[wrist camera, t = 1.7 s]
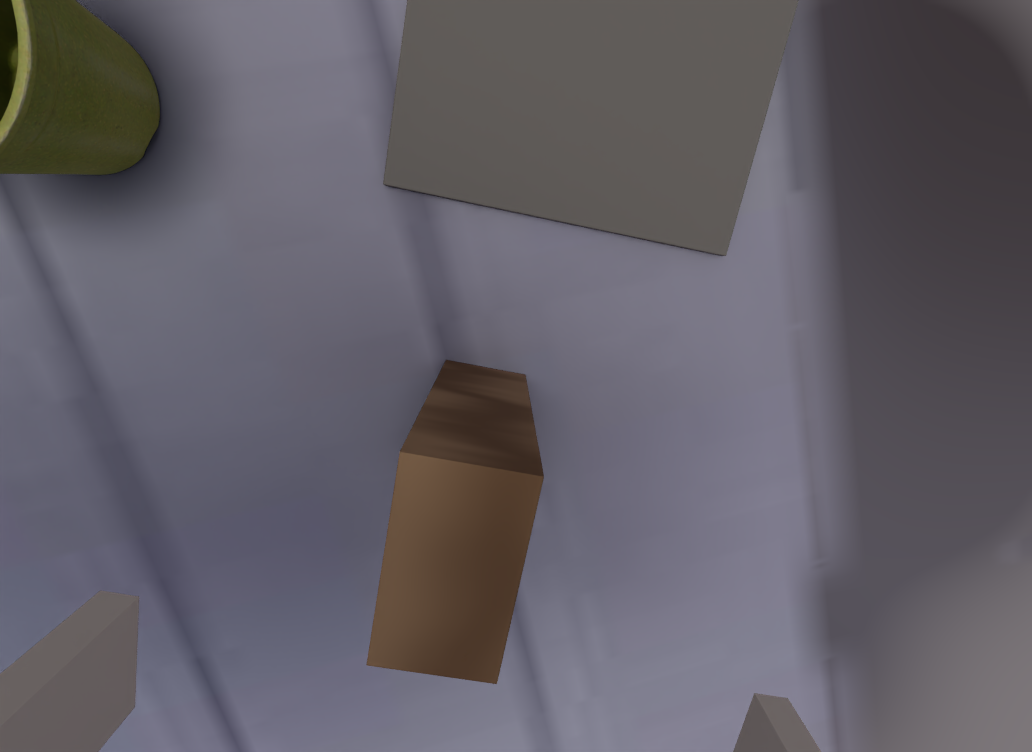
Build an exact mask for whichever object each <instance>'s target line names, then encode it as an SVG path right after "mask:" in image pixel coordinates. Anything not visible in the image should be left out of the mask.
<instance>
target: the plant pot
mask: <svg viewBox="0 0 1032 752" xmlns="http://www.w3.org/2000/svg"><path fill="white" fill-rule="evenodd" d="M159 117H160V107H159V98H158V93H157V88H156V86H155V83H154V80H153V78H152V75H151V73H150V72H149V70H148V68H147V66H146V64H145V63H144V61H143V59H142V58H141V57H140V55H139V54H138V53H137V52H136V51H135V50H134V48H133V47H132V46H131V45H130V44H129V43H128V42H126V41H125V40H124V39H123V38H122V37H121V36H120V35H119V34H117V33H116V32H115V31H113V30H112V29H111V28H110V27H108V26H107V25H106V24H105V23H103V22H102V21H101V20H100V19H98V18H97V17H96V16H94V15H93V14H92V13H91V12H89V11H88V10H87V9H86V8H84V7H83V6H82V5H81V4H79V3H78V2H77V1H76V0H0V174H87V175H106V174H113V173H117V172H120V171H123V170H125V169H127V168H129V167H131V166H133V165H134V164H135V163H137V162H138V161H139V160H140V159H141V158H142V157H143V156H144V153H145V150H146V148H147V146H148V144H149V142H150V140H151V138H152V136H153V134H154V133H155V131H156V130H157V128H158V125H159Z"/></svg>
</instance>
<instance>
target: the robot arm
mask: <svg viewBox="0 0 1032 752" xmlns="http://www.w3.org/2000/svg"><path fill="white" fill-rule="evenodd" d="M138 613H139V597H138V596H132V595H125V594H119V593H113V592H106V591H99V592H98V593H97V594H96V595H95V596H93V597H92V598H91V599H90V600H88V601H87V602H86V603H85V604H84V605H82V606H81V607H80V608H79V609H78V610H76V611H75V612H74V613H73V614H72V615H70V616H69V617H68V618H67V619H66V620H64V621H63V622H62V623H61V624H60V625H58V626H57V627H56V628H55V629H54V630H52V631H51V632H50V633H49V634H48V635H46V636H45V637H44V638H43V639H42V640H40V641H39V642H38V643H37V644H36V645H34V646H33V647H32V648H31V649H30V650H28V651H27V652H26V653H25V654H24V655H22V656H21V657H20V658H19V659H18V660H16V661H15V662H14V663H13V664H12V665H10V666H9V667H8V668H7V669H6V670H4V671H3V672H2V673H1V674H0V752H98V751H99V750H100V749H101V748H102V746H103V745H104V744H105V743H106V742H107V740H108V739H109V738H110V737H111V735H112V734H113V733H114V732H115V731H116V729H117V728H118V727H119V726H120V724H121V723H122V722H123V721H124V720H125V718H126V717H127V716H128V715H129V714H130V712H131V711H132V710H133V709H134V707H135V693H136V666H137V640H138ZM733 752H821V751H820V749H819V747H818V746H817V744H816V743H815V741H814V739H813V738H812V736H811V735H810V733H809V731H808V730H807V728H806V727H805V725H804V723H803V722H802V720H801V719H800V717H799V715H798V714H797V712H796V711H795V709H794V707H793V706H792V704H791V703H790V701H789V700H788V698H782V697H776V696H770V695H763V694H757V693H754V696H753V699H752V701H751V704H750V707H749V710H748V712H747V715H746V718H745V721H744V723H743V726H742V729H741V732H740V734H739V737H738V740H737V743H736V745H735V748H734V751H733Z"/></svg>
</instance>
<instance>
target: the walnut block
mask: <svg viewBox="0 0 1032 752" xmlns="http://www.w3.org/2000/svg"><path fill="white" fill-rule="evenodd" d="M543 478H544V475H543V469H542V464H541V458H540V453H539V447H538V442H537V436H536V431H535V425H534V420H533V414H532V409H531V403H530V397H529V392H528V386H527V381H526V375H524V374H519V373H514V372H508V371H503V370H498V369H492V368H487V367H482V366H476V365H471V364H466V363H460V362H455V361H450V360H446V361H445V363H444V365H443V367H442V369H441V371H440V373H439V375H438V377H437V379H436V381H435V383H434V385H433V387H432V389H431V391H430V393H429V395H428V397H427V399H426V401H425V403H424V405H423V407H422V409H421V411H420V413H419V415H418V417H417V419H416V421H415V423H414V425H413V427H412V429H411V431H410V433H409V435H408V437H407V439H406V441H405V442H404V444H403V446H402V448H401V450H400V454H399V460H398V467H397V473H396V479H395V486H394V492H393V499H392V505H391V511H390V518H389V524H388V531H387V537H386V544H385V550H384V556H383V563H382V569H381V576H380V582H379V588H378V595H377V601H376V608H375V614H374V620H373V627H372V633H371V640H370V646H369V652H368V659H367V665H368V666H375V667H382V668H389V669H396V670H403V671H410V672H417V673H424V674H431V675H438V676H445V677H452V678H458V679H465V680H472V681H479V682H486V683H493V684H497V681H498V676H499V672H500V668H501V663H502V659H503V654H504V650H505V646H506V641H507V637H508V632H509V628H510V624H511V619H512V615H513V610H514V606H515V602H516V597H517V593H518V588H519V584H520V580H521V575H522V571H523V566H524V562H525V558H526V553H527V549H528V544H529V540H530V536H531V531H532V527H533V522H534V518H535V514H536V509H537V505H538V500H539V496H540V492H541V487H542V483H543Z"/></svg>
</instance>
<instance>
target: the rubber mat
mask: <svg viewBox="0 0 1032 752" xmlns="http://www.w3.org/2000/svg"><path fill="white" fill-rule="evenodd" d="M797 4H798V0H407V7H406V15H405V22H404V30H403V37H402V45H401V53H400V60H399V68H398V75H397V83H396V91H395V98H394V106H393V113H392V121H391V129H390V136H389V144H388V151H387V159H386V167H385V174H384V182H383V184H384V185H386V186H391V187H395V188H400V189H405V190H410V191H414V192H419V193H424V194H429V195H434V196H438V197H443V198H448V199H453V200H457V201H462V202H467V203H472V204H477V205H481V206H486V207H491V208H496V209H500V210H505V211H510V212H515V213H520V214H524V215H529V216H534V217H539V218H543V219H548V220H553V221H558V222H563V223H567V224H572V225H577V226H582V227H586V228H591V229H596V230H601V231H606V232H610V233H615V234H620V235H625V236H629V237H634V238H639V239H644V240H649V241H653V242H658V243H663V244H668V245H672V246H677V247H682V248H687V249H692V250H696V251H701V252H706V253H711V254H715V255H720V256H726V254H727V250H728V247H729V243H730V240H731V236H732V233H733V229H734V226H735V222H736V218H737V215H738V211H739V208H740V204H741V201H742V197H743V194H744V190H745V187H746V183H747V180H748V176H749V173H750V169H751V166H752V162H753V159H754V155H755V152H756V148H757V145H758V141H759V138H760V134H761V131H762V127H763V124H764V120H765V116H766V113H767V109H768V106H769V102H770V99H771V95H772V92H773V88H774V85H775V81H776V78H777V74H778V71H779V67H780V64H781V60H782V57H783V53H784V50H785V46H786V43H787V39H788V36H789V32H790V29H791V25H792V22H793V18H794V14H795V11H796V7H797Z"/></svg>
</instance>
